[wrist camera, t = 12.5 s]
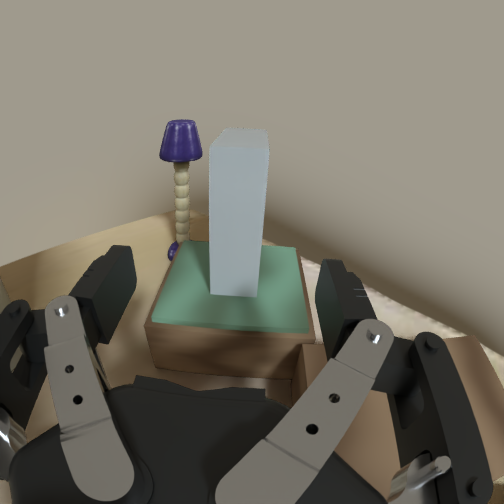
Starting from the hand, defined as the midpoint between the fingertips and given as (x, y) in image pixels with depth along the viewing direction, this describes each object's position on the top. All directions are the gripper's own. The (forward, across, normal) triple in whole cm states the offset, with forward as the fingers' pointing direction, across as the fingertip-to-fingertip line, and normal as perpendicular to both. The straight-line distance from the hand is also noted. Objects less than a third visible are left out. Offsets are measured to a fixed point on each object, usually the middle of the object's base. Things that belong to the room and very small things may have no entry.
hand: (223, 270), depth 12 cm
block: (+12, 0, +7) cm, 14 cm away
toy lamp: (+21, +7, +13) cm, 26 cm away
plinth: (+10, 0, +13) cm, 16 cm away
